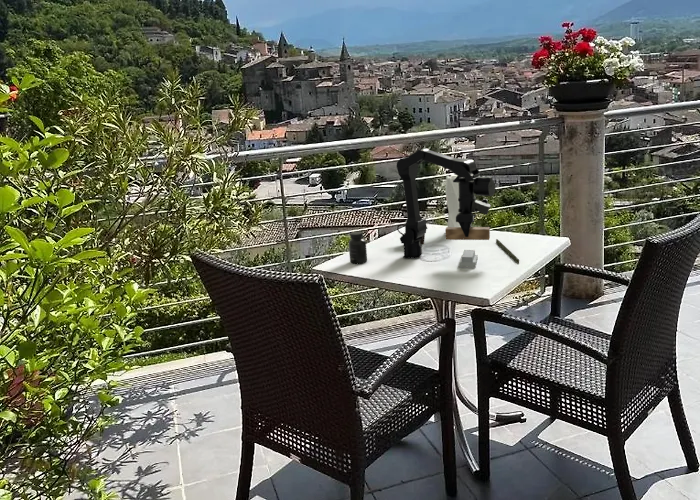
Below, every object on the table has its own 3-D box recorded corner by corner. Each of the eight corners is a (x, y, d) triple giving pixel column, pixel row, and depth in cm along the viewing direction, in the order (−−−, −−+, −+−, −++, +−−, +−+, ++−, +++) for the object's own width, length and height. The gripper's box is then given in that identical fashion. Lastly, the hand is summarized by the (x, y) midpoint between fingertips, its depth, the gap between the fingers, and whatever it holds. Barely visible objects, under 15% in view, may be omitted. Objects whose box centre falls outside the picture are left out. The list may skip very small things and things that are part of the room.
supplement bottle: (358, 258, 272) (356, 229, 269) (370, 261, 267) (369, 232, 264) (346, 263, 268) (344, 233, 264) (358, 265, 263) (356, 235, 260)
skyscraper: (468, 232, 303) (467, 170, 296) (459, 236, 297) (458, 173, 290) (451, 230, 308) (450, 169, 301) (442, 234, 302) (441, 172, 295)
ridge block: (459, 267, 252) (458, 257, 251) (461, 259, 262) (461, 249, 260) (475, 267, 251) (475, 257, 250) (477, 259, 260) (477, 249, 259)
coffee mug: (430, 241, 290) (429, 219, 288) (421, 247, 283) (420, 223, 281) (406, 239, 296) (405, 217, 294) (396, 244, 289) (395, 221, 287)
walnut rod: (445, 239, 254) (445, 229, 253) (446, 237, 257) (446, 227, 256) (489, 239, 250) (488, 229, 249) (489, 237, 253) (489, 227, 252)
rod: (519, 264, 253) (519, 259, 252) (517, 264, 253) (517, 259, 252) (497, 243, 283) (497, 238, 282) (495, 243, 283) (495, 238, 282)
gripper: (486, 199, 238) (487, 242, 242) (490, 189, 255) (491, 229, 260) (455, 199, 241) (456, 242, 245) (461, 189, 258) (461, 229, 263)
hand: (467, 235), depth 253 cm, fingers closed on walnut rod, 3 cm apart
